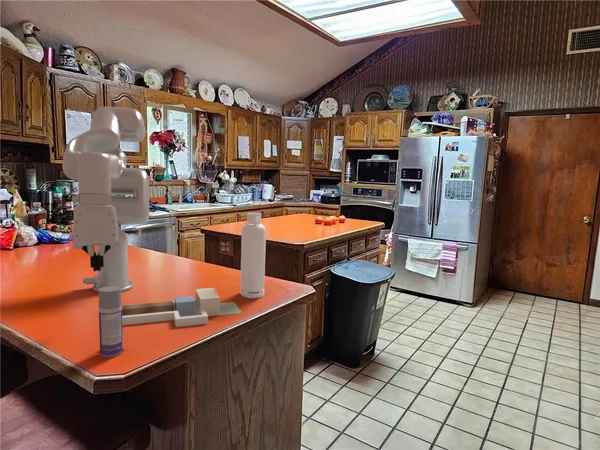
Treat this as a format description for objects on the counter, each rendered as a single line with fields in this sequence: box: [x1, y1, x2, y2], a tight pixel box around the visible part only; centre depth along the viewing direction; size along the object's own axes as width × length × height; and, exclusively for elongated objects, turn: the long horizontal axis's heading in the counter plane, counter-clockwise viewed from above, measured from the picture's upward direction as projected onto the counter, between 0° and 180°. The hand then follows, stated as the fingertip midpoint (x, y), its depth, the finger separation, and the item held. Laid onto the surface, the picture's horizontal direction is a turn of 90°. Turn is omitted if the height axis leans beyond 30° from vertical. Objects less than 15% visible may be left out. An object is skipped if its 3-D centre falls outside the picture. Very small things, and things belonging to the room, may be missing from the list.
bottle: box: [239, 212, 267, 299], centre depth 132 cm, size 8×8×28 cm
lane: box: [122, 287, 243, 328], centre depth 111 cm, size 33×15×6 cm, turn 113°
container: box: [98, 286, 124, 358], centre depth 88 cm, size 5×5×15 cm
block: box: [174, 295, 195, 316], centre depth 114 cm, size 5×5×4 cm
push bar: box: [122, 300, 174, 316], centre depth 110 cm, size 14×3×3 cm, turn 113°
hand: (97, 269), depth 103 cm, fingers closed
